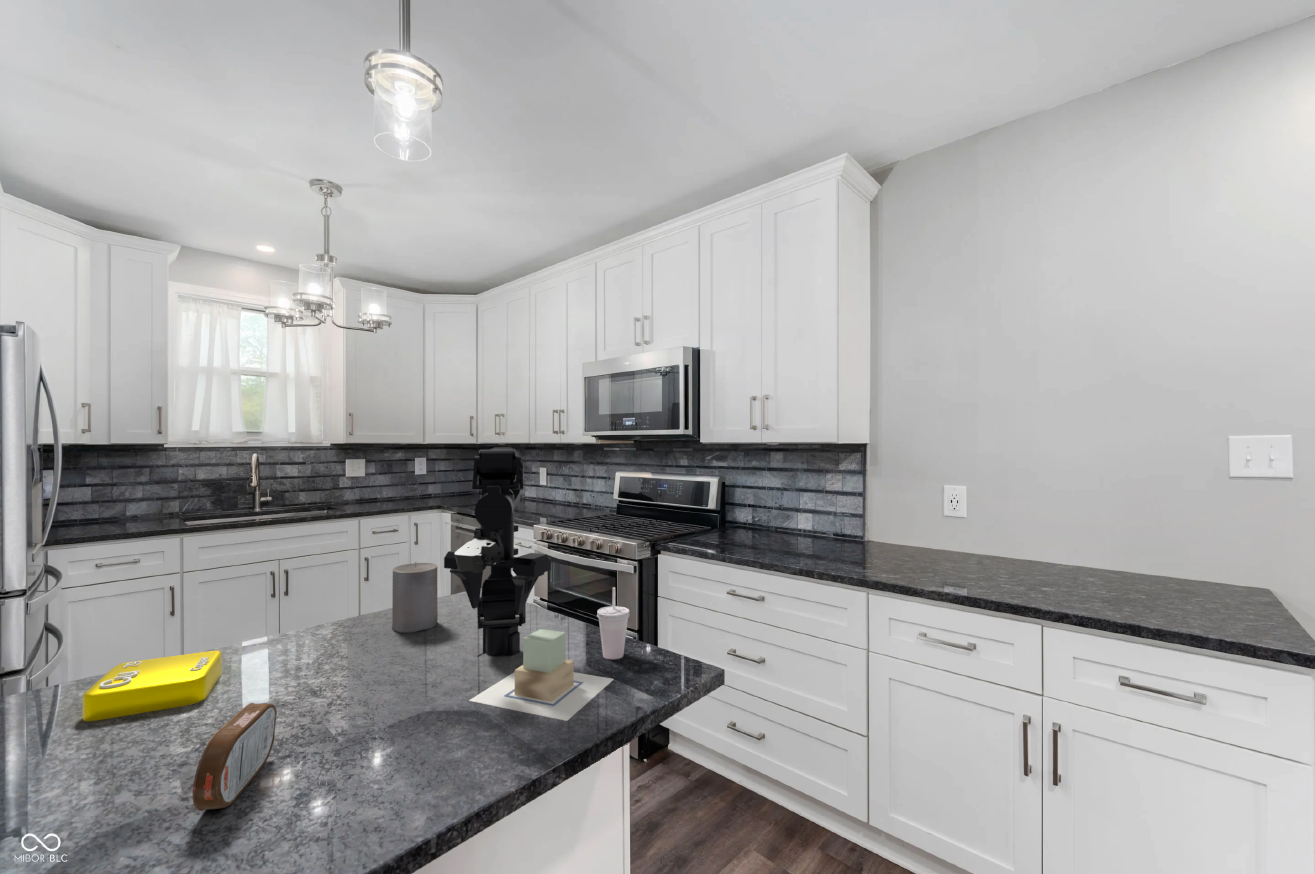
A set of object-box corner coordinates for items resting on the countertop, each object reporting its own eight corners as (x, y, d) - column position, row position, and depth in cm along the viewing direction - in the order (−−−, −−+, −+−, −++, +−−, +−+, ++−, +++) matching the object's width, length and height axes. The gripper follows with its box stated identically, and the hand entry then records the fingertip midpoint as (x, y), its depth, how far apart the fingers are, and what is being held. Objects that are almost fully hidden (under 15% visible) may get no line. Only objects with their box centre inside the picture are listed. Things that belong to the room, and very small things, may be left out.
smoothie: (631, 654, 111) (632, 584, 112) (627, 667, 105) (627, 593, 105) (600, 653, 112) (600, 583, 112) (593, 666, 106) (593, 592, 106)
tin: (254, 754, 75) (255, 691, 75) (280, 751, 76) (281, 689, 76) (188, 829, 60) (189, 750, 61) (221, 824, 61) (222, 747, 61)
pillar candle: (406, 618, 135) (406, 556, 135) (445, 619, 134) (445, 557, 134) (383, 632, 125) (383, 565, 125) (424, 633, 124) (424, 566, 124)
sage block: (523, 668, 92) (523, 637, 92) (540, 657, 96) (540, 628, 97) (549, 672, 90) (549, 641, 90) (565, 661, 95) (565, 632, 95)
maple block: (514, 694, 91) (514, 669, 91) (538, 677, 98) (538, 655, 98) (551, 701, 89) (551, 676, 89) (573, 684, 95) (573, 660, 95)
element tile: (203, 704, 90) (203, 675, 90) (76, 726, 83) (77, 694, 83) (224, 671, 104) (224, 645, 104) (116, 687, 97) (116, 660, 97)
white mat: (468, 706, 89) (468, 699, 89) (526, 669, 104) (526, 663, 104) (566, 727, 82) (566, 719, 82) (614, 684, 97) (614, 678, 97)
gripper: (420, 524, 93) (419, 618, 93) (514, 530, 86) (513, 631, 86) (465, 516, 103) (465, 600, 103) (552, 521, 97) (552, 611, 97)
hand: (496, 610), depth 97 cm, fingers open, 9 cm apart
